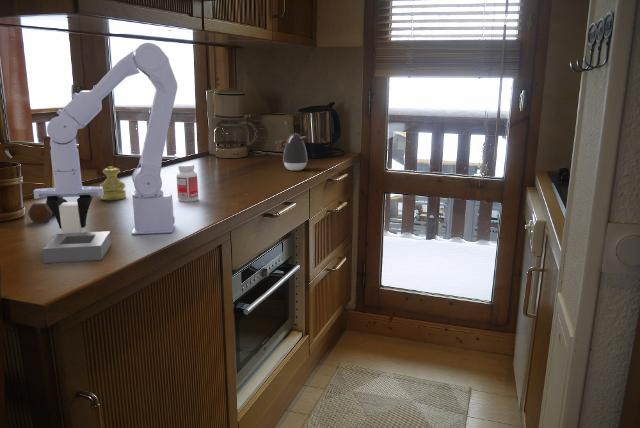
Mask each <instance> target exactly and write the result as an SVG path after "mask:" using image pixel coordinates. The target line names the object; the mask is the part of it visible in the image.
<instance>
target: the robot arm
mask: <svg viewBox="0 0 640 428" xmlns="http://www.w3.org/2000/svg"><path fill="white" fill-rule="evenodd" d="M140 72H142V73H143V74H144V75H145V76H147V77H148V80H149V81H150V82H151V84H152V85H153V87H154V88H155V91H154V96H153V99H152V105H151V110H150V115H149V118H148V119H149V120H148V122H147V123H148V124H147V128H146V129H147V130H146V134H145V139H144V142H143V148H142V152H141V155H140V158H139V162H138V165H137V167H136V168H135V169H134V170H133V172H132V175H131V179H132V183H133V185H134V189H135V190H134V191H133V192H132V193H131V196H132V207H133V220H134V227H133V229H132V230H131V232H130V233H131V235H147V234H148V235H149V234H166V233H167V234H168V233H171V234H172V233H173V232H174V227H175V223H176V222H175V216H174V203H173V202H174V201H173V194H171V193H168V194H167V193H164V191H163V189H162V186H163V180H162V176H161V172H162V162H163V154H164V150H165V146H166V142H167V136H168V133H169V127H170V123H171V118H172V113H173V109H174V104H175V101H176V95H177V91H178V82H177V79H176V76H175V74H174V71H173V69H172V66H171V63H170V60H169V57H168V56H167V55H166V53H165V52H164V51H163V50H162V48H161V47H160V46H159V45H158V44H155V43H152V42H144V43H141V44H140V45H139V46H137V48H135V50H133V51H131V52H130V53H128V54H126V55H125V56H124V57H123V58H121V59H120V60H118V61H117V62H116V64H114V66H113V67H112V68H111V69H110V70H109V71H108V72H107V73H106V74H105V75H104V76H103V77H102V78H101V79H100V81H99V82H98V83H97V84H95V86H93V88H92V89H90V90H80V91H79V92H78V93H77V92H74V93H73V94H72V95H71V98H72V99H71V100H70V101H69V102H68V103H67V104H66V105H65V106H64V107H63V108H62V109H58V110H57V111H56V114H58V116H55V117H53V118H51V119H50V120H49V122H48V124H47V126H46V132H47V135H48V137H49V138H50V140H49V147H50V148H51V149H50V152H49V153H50V159H51V166H52V169H51V170H52V174H53V175H52V176H53V184H54V185H53V186H54V187H47V188H43V187H42V188H35V189H34V190H33V198H34V200H35V199H45V198H46V200H45V203H46V204H47V205H48V206H49V208H50V209H51V211H52V212H53V214H52V215H54V217H55V219H56V222H57V224H58V227H59V229H61V220H60V212H59V206H60V205H61V204H62V203H63V199H64V198H72V197H73V198H75V197H77V199H76V202H77V203H78V207H79V212H80V224H81V228H84V229H85V227H86V226H87V217H88V214H89V213H88V212H89V209H90V206H91V203H92V200H93V198H94V197H101V196H103V195H104V194H103V187H100V186H84V185H83V182H82V174H81V173H82V172H81V165H80V154H79V148H78V147H77V138H76V136H77V133H78V130H81V129H84V128H85V127H86V126H87V125H88V124H89V123H90V122H91V121H92V120H93V119H94V118H95V117H96V116H97V115H98V114H100V112H101V111H102V109H103V105H102V101H103V100H104V98H105V99H106V97H108V95H109V94H110V93H111V92H113V90H115V88H116V87H118V85H120V84H121V83H122V82H123V81H124V80H125V79H126V78H128V77H130V76H134V75H137V74H140ZM61 230H62V229H61Z"/></svg>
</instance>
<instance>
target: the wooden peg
mask: <svg viewBox="0 0 640 428" xmlns="http://www.w3.org/2000/svg"><path fill="white" fill-rule="evenodd" d="M59 212H60V220H61V234H63V233H85V232H86V231H85V227H84V228H81V224H80V212H79V207H78V203H77V201H67V202H63V203H62V204H61V205H60V206H59Z"/></svg>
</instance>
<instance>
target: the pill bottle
mask: <svg viewBox="0 0 640 428" xmlns="http://www.w3.org/2000/svg"><path fill="white" fill-rule="evenodd" d="M177 168H178V172H177V173H176V190H177V200H178V201H179V202H181V203H193V202H197V201H198V200H199V184H198V174H197V172H196V171H195V164H194V163H184V164H183V163H182V164H178V167H177Z"/></svg>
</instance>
